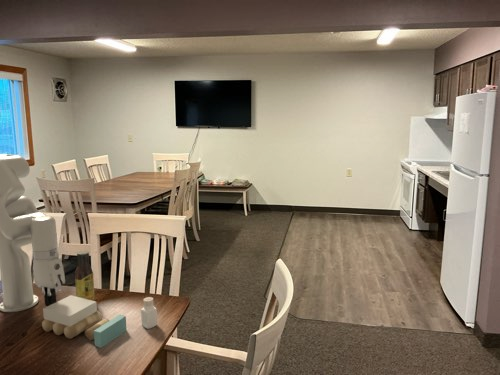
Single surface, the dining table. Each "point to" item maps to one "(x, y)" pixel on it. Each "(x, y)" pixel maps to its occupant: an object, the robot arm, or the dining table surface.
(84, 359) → the dining table surface
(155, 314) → the pepper shaker
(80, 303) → the slab
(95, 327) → the roller
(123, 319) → the block
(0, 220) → the robot arm
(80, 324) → the roller track
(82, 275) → the sauce bottle
